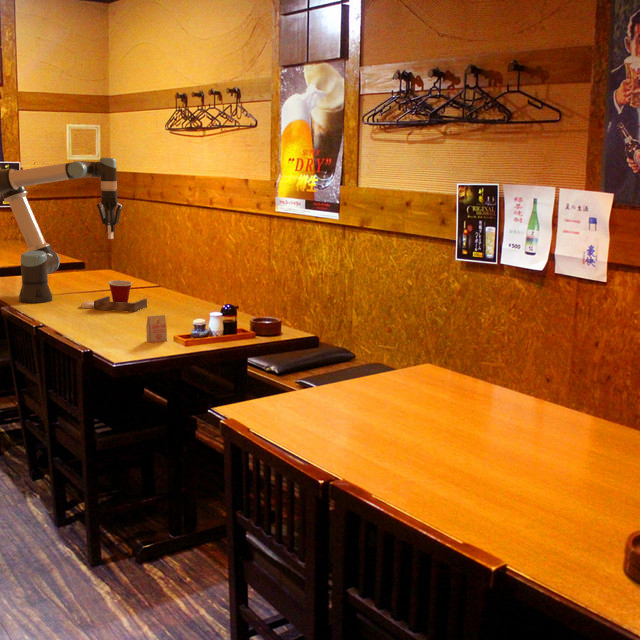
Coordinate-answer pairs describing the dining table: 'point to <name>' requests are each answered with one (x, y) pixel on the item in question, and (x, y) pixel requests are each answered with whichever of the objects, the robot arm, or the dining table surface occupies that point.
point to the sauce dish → (87, 305)
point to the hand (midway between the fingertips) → (110, 238)
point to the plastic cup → (120, 290)
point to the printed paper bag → (156, 329)
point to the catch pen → (119, 305)
